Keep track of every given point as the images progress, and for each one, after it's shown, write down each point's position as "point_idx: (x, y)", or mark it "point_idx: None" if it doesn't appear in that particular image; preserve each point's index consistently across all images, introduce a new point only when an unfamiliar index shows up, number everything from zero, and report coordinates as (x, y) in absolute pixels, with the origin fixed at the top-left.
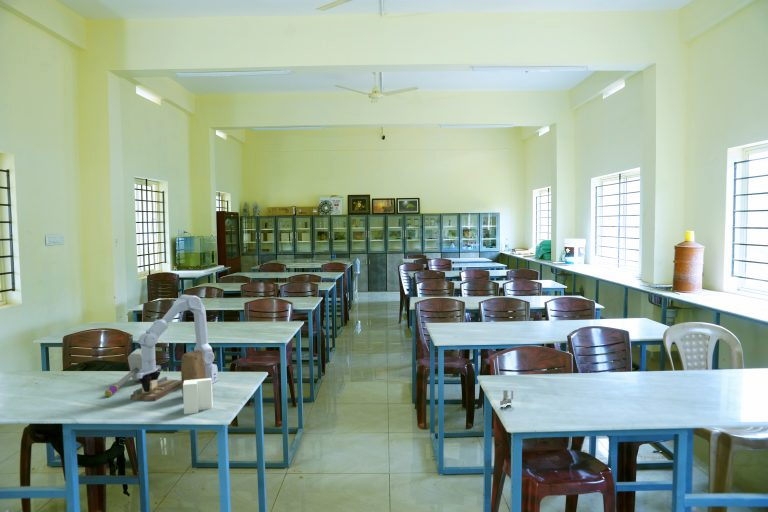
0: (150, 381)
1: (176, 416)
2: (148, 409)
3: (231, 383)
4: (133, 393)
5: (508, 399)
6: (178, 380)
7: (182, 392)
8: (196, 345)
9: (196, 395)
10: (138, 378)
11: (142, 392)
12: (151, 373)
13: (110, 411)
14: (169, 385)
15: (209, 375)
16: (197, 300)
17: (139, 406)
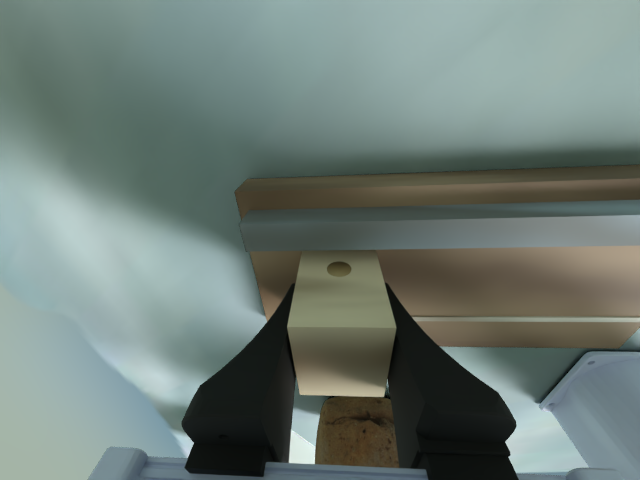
0: (325, 378)
1: (178, 423)
2: (174, 348)
3: (534, 440)
4: (244, 217)
5: None
6: (634, 318)
7: (319, 429)
8: None
9: None
10: (195, 397)
11: (301, 257)
12: (413, 448)
13: (23, 208)
14: (495, 321)
15: (588, 454)
16: None
17: (179, 300)
